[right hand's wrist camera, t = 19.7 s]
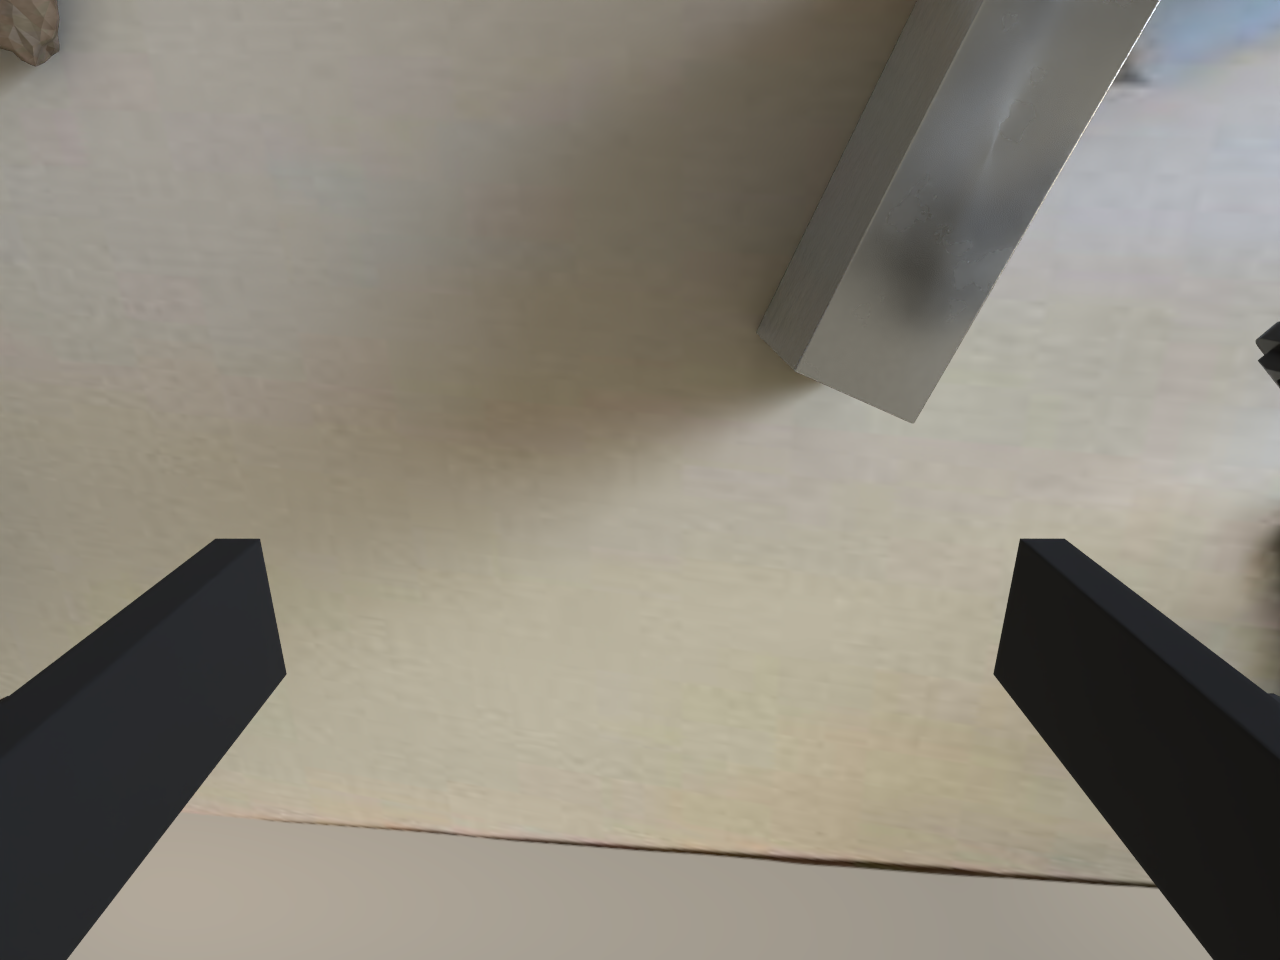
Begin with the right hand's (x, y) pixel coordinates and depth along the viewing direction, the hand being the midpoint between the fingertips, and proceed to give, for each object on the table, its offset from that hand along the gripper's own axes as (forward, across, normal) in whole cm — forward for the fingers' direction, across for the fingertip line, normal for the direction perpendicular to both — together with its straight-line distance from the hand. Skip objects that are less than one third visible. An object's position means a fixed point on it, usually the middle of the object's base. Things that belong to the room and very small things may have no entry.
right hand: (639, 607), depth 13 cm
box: (+31, -14, -9) cm, 35 cm away
